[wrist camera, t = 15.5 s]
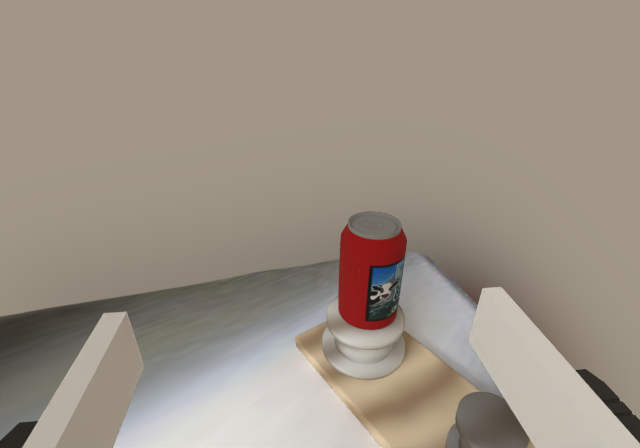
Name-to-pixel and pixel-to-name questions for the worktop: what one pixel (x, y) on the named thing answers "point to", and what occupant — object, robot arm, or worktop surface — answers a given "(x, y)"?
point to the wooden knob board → (406, 389)
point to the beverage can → (371, 270)
